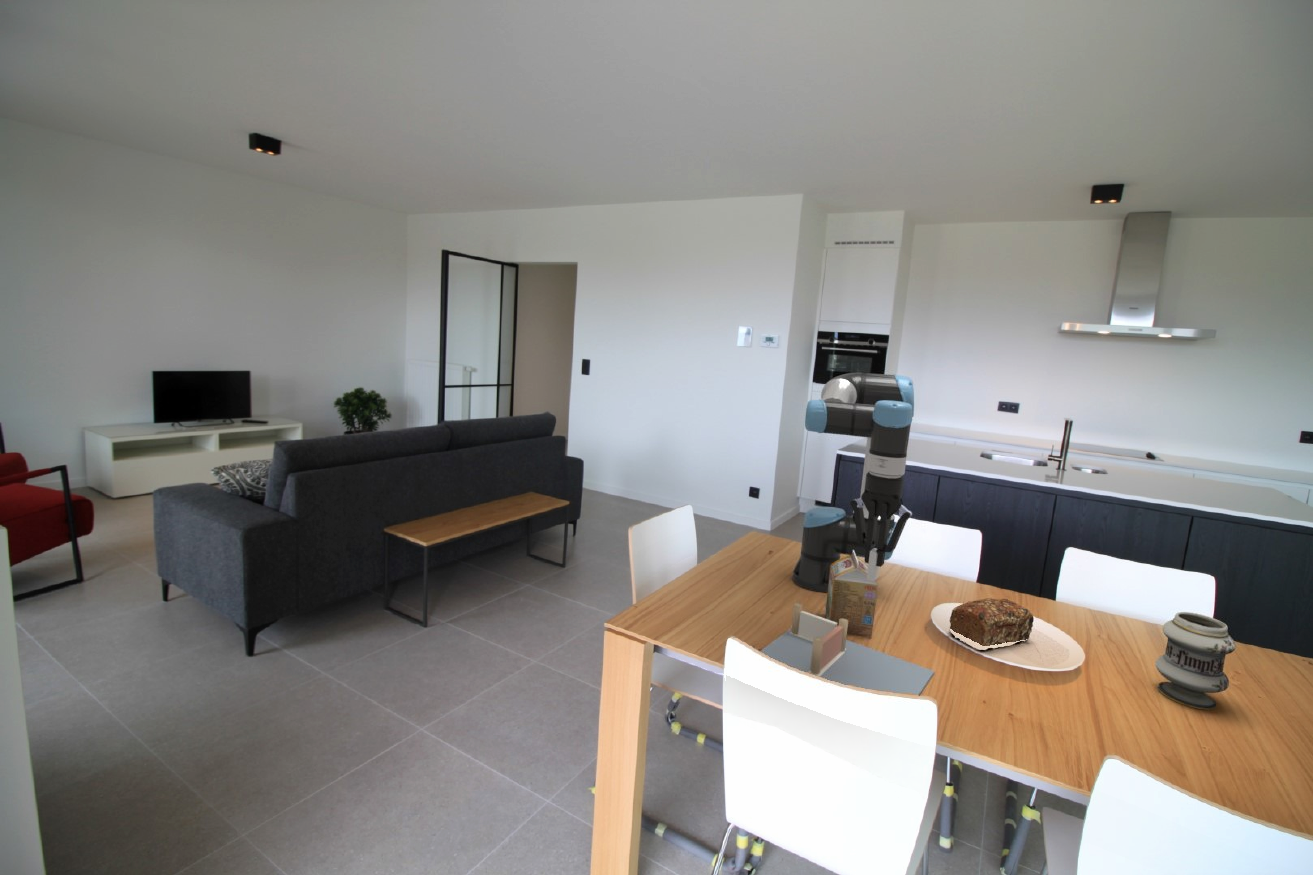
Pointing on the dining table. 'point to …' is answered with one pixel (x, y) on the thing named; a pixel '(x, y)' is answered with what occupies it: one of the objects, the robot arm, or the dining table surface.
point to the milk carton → (852, 596)
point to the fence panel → (826, 649)
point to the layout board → (853, 665)
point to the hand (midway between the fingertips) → (872, 578)
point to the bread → (992, 621)
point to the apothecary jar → (1194, 659)
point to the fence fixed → (815, 625)
